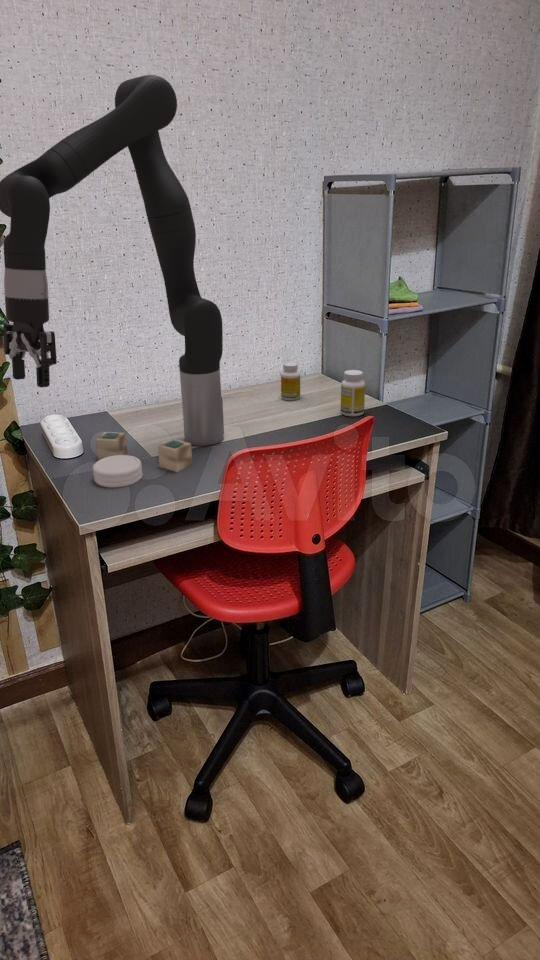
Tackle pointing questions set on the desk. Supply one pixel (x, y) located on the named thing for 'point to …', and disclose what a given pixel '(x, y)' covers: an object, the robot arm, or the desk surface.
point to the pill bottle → (352, 393)
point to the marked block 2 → (175, 455)
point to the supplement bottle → (290, 381)
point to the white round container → (117, 471)
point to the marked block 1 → (111, 444)
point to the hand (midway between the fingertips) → (31, 382)
